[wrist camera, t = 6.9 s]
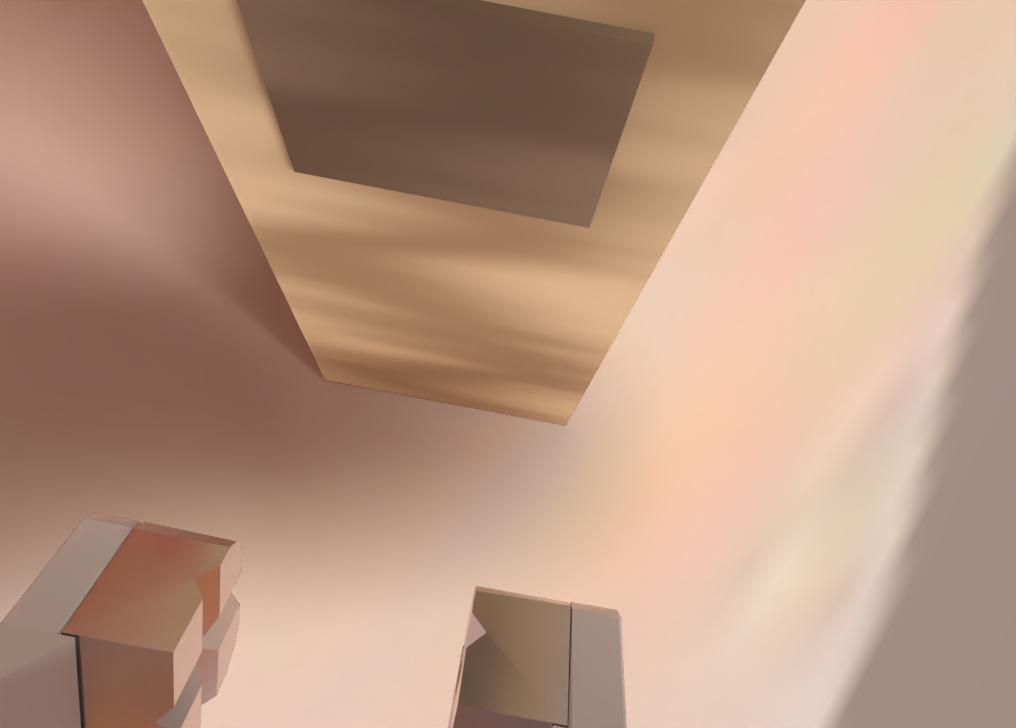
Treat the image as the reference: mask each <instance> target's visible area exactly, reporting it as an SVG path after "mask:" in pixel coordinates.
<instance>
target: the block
mask: <svg viewBox="0 0 1016 728" xmlns="http://www.w3.org/2000/svg"><path fill="white" fill-rule="evenodd" d="M142 1H143V3H144V5H145V7H146V9H147V11H148V13H149V15H150V17H151V19H152V21H153V24H154V26H155V28H156V30H157V32H158V34H159V36H160V38H161V40H162V42H163V44H164V46H165V49H166V51H167V53H168V55H169V57H170V59H171V61H172V63H173V65H174V67H175V69H176V71H177V73H178V76H179V78H180V80H181V82H182V84H183V86H184V88H185V90H186V92H187V94H188V96H189V98H190V100H191V103H192V105H193V107H194V109H195V111H196V113H197V115H198V117H199V119H200V121H201V123H202V125H203V127H204V130H205V132H206V134H207V136H208V138H209V140H210V142H211V144H212V146H213V148H214V150H215V152H216V154H217V157H218V159H219V161H220V163H221V165H222V167H223V169H224V171H225V173H226V175H227V177H228V179H229V181H230V184H231V186H232V188H233V190H234V192H235V194H236V196H237V198H238V200H239V202H240V204H241V206H242V208H243V211H244V213H245V215H246V217H247V219H248V221H249V223H250V225H251V227H252V229H253V231H254V233H255V235H256V238H257V240H258V242H259V244H260V246H261V248H262V250H263V252H264V254H265V256H266V258H267V260H268V262H269V265H270V267H271V269H272V271H273V273H274V275H275V277H276V279H277V281H278V283H279V285H280V287H281V289H282V292H283V294H284V296H285V298H286V300H287V302H288V304H289V306H290V308H291V310H292V312H293V314H294V317H295V319H296V321H297V323H298V325H299V327H300V329H301V331H302V333H303V335H304V337H305V339H306V341H307V344H308V346H309V348H310V350H311V352H312V354H313V356H314V358H315V360H316V362H317V364H318V366H319V368H320V371H321V373H322V375H323V377H324V379H325V380H326V381H332V382H337V383H342V384H348V385H353V386H358V387H364V388H369V389H374V390H379V391H385V392H390V393H395V394H401V395H406V396H411V397H417V398H422V399H427V400H433V401H438V402H443V403H449V404H454V405H459V406H465V407H470V408H475V409H481V410H486V411H491V412H497V413H502V414H507V415H512V416H518V417H523V418H528V419H534V420H539V421H544V422H550V423H555V424H560V425H566V424H567V423H568V421H569V419H570V417H571V416H572V414H573V412H574V410H575V409H576V407H577V405H578V403H579V401H580V400H581V398H582V396H583V394H584V393H585V391H586V389H587V387H588V385H589V384H590V382H591V380H592V378H593V377H594V375H595V373H596V371H597V369H598V368H599V366H600V364H601V362H602V361H603V359H604V357H605V355H606V353H607V352H608V350H609V348H610V346H611V345H612V343H613V341H614V339H615V338H616V336H617V334H618V332H619V330H620V329H621V327H622V325H623V323H624V322H625V320H626V318H627V316H628V314H629V313H630V311H631V309H632V307H633V306H634V304H635V302H636V300H637V298H638V297H639V295H640V293H641V291H642V290H643V288H644V286H645V284H646V283H647V281H648V279H649V277H650V275H651V274H652V272H653V270H654V268H655V267H656V265H657V263H658V261H659V259H660V258H661V256H662V254H663V252H664V251H665V249H666V247H667V245H668V243H669V242H670V240H671V238H672V236H673V235H674V233H675V231H676V229H677V228H678V226H679V224H680V222H681V220H682V219H683V217H684V215H685V213H686V212H687V210H688V208H689V206H690V204H691V203H692V201H693V199H694V197H695V196H696V194H697V192H698V190H699V188H700V187H701V185H702V183H703V181H704V180H705V178H706V176H707V174H708V173H709V171H710V169H711V167H712V165H713V164H714V162H715V160H716V158H717V157H718V155H719V153H720V151H721V149H722V148H723V146H724V144H725V142H726V141H727V139H728V137H729V135H730V133H731V132H732V130H733V128H734V126H735V125H736V123H737V121H738V119H739V118H740V116H741V114H742V112H743V110H744V109H745V107H746V105H747V103H748V102H749V100H750V98H751V96H752V94H753V93H754V91H755V89H756V87H757V86H758V84H759V82H760V80H761V78H762V77H763V75H764V73H765V71H766V70H767V68H768V66H769V64H770V63H771V61H772V59H773V57H774V55H775V54H776V52H777V50H778V48H779V47H780V45H781V43H782V41H783V39H784V38H785V36H786V34H787V32H788V31H789V29H790V27H791V25H792V23H793V22H794V20H795V18H796V16H797V15H798V13H799V11H800V9H801V8H802V6H803V4H804V2H805V0H142Z"/></svg>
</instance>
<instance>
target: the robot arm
mask: <svg viewBox="0 0 1016 728" xmlns="http://www.w3.org/2000/svg"><path fill="white" fill-rule="evenodd" d="M240 573H241V546H240V545H239V543H238V542H237V541H232V540H227V539H223V538H218V537H213V536H208V535H204V534H199V533H194V532H189V531H185V530H180V529H175V528H171V527H166V526H161V525H156V524H152V523H147V522H143V523H141V522H137V521H132V520H128V519H123V518H118V517H114V516H109V515H104V514H100V513H94V514H92V515H90V516H88V517H87V518H85V519H83V520H82V521H81V522H80V523H79V525H78V526H77V527H76V528H75V530H74V531H73V532H72V533H71V535H70V536H69V537H68V538H67V540H66V541H65V542H64V544H63V545H62V546H61V547H60V549H59V550H58V551H57V552H56V554H55V555H54V556H53V557H52V559H51V560H50V561H49V563H48V564H47V565H46V566H45V568H44V569H43V570H42V571H41V573H40V574H39V575H38V576H37V578H36V579H35V580H34V581H33V583H32V584H31V585H30V587H29V588H28V589H27V590H26V592H25V593H24V594H23V595H22V597H21V598H20V599H19V600H18V602H17V603H16V604H15V606H14V607H13V608H12V609H11V611H10V612H9V613H8V614H7V616H6V617H5V618H4V619H3V621H2V622H1V623H0V728H200V725H201V705H202V704H204V703H205V702H207V701H209V700H210V699H212V698H213V697H215V696H216V695H217V693H218V691H219V689H220V687H221V684H222V682H223V680H224V677H225V675H226V673H227V670H228V666H229V663H230V660H231V656H232V653H233V650H234V646H235V642H236V636H237V630H238V624H239V611H240V604H239V603H238V601H237V600H236V598H235V597H234V596H233V594H232V593H231V592H232V590H233V588H234V586H235V584H236V582H237V580H238V578H239V576H240ZM448 728H626V708H625V687H624V666H623V644H622V623H621V616H620V614H619V613H618V611H617V610H614V609H608V608H602V607H596V606H590V605H584V604H578V603H573V602H570V604H568V603H567V602H563V601H557V600H551V599H546V598H540V597H535V596H529V595H524V594H518V593H512V592H507V591H501V590H496V589H490V588H484V587H479V586H476V587H475V591H474V595H473V600H472V605H471V609H470V614H469V620H468V625H467V631H466V637H465V643H464V646H463V649H462V654H461V659H460V665H459V670H458V675H457V680H456V685H455V690H454V695H453V701H452V707H451V713H450V719H449V724H448Z"/></svg>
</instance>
